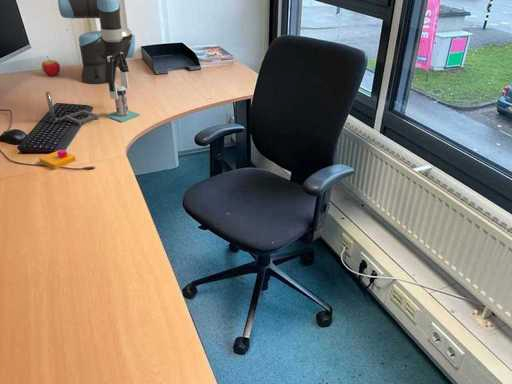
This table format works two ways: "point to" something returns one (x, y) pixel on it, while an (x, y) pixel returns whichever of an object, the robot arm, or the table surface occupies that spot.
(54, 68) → the apple
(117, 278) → the table surface
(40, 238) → the table surface
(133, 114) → the coaster
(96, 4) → the robot arm
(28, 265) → the table surface
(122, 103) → the beer can
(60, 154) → the orange flat block
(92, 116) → the square frame with rod
